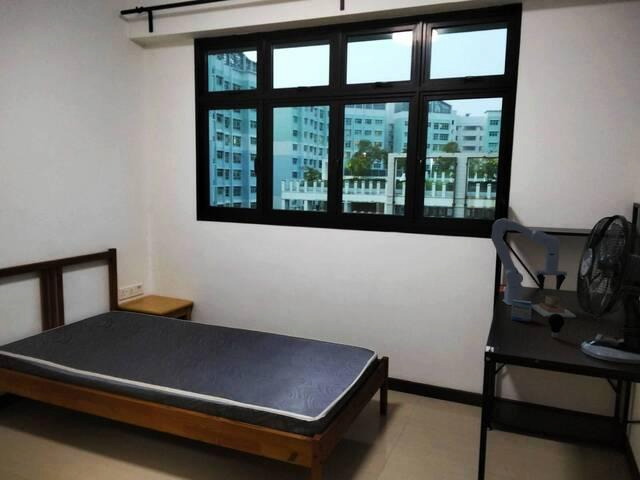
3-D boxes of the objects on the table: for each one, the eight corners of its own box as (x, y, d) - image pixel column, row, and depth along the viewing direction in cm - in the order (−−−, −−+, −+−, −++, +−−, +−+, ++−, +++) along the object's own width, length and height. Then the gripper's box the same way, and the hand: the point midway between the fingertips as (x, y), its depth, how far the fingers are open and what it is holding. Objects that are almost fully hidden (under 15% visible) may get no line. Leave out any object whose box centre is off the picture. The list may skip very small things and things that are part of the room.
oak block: (550, 311, 222) (551, 298, 221) (544, 307, 228) (545, 295, 227) (559, 311, 222) (560, 299, 221) (553, 308, 228) (554, 296, 227)
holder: (529, 306, 235) (529, 300, 234) (557, 307, 234) (558, 301, 234) (544, 316, 217) (545, 310, 216) (575, 317, 216) (576, 311, 216)
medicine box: (511, 319, 211) (512, 300, 210) (512, 317, 215) (513, 298, 214) (530, 322, 208) (531, 303, 207) (530, 319, 212) (532, 301, 210)
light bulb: (548, 334, 191) (550, 310, 189) (564, 338, 187) (566, 313, 186) (545, 338, 186) (546, 313, 185) (561, 341, 182) (563, 316, 181)
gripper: (540, 263, 225) (537, 291, 226) (571, 264, 224) (568, 291, 226) (534, 260, 232) (532, 287, 233) (564, 261, 231) (561, 288, 233)
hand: (549, 289), depth 230 cm, fingers open, 7 cm apart
